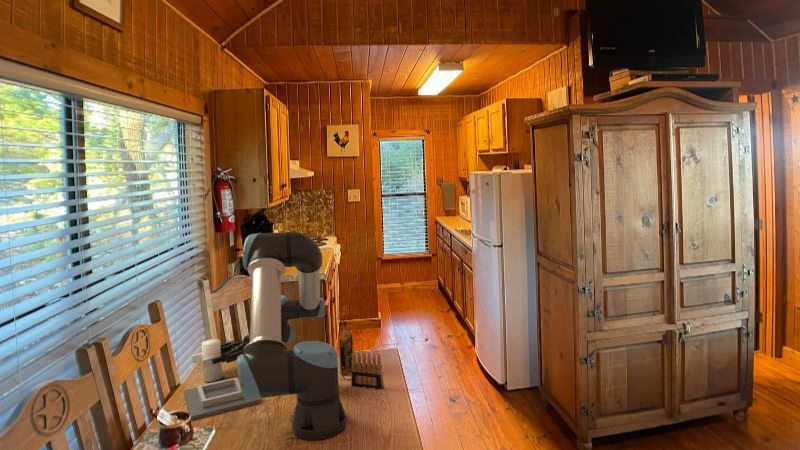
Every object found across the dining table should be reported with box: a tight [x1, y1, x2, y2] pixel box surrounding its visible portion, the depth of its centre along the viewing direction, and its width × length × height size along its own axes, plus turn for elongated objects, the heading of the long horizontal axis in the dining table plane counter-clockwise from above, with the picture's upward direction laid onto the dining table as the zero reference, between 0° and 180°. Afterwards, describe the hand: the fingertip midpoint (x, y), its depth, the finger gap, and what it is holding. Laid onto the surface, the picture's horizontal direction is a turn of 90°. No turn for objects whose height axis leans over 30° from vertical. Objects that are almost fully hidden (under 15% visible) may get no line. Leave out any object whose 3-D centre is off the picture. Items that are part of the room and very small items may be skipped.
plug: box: [201, 338, 223, 383], centre depth 164 cm, size 6×6×13 cm
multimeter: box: [338, 314, 354, 381], centre depth 167 cm, size 15×10×20 cm
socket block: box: [183, 376, 261, 421], centre depth 150 cm, size 20×20×3 cm
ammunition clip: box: [351, 350, 384, 390], centre depth 155 cm, size 11×2×12 cm, turn 72°
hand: (197, 361), depth 161 cm, fingers closed on plug, 6 cm apart
